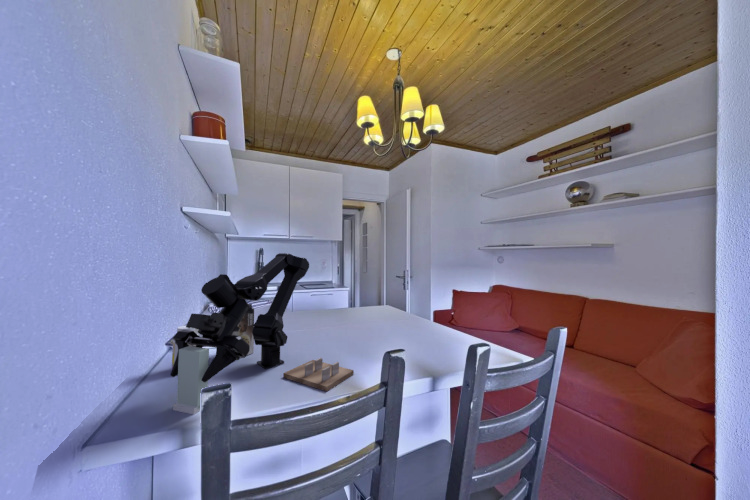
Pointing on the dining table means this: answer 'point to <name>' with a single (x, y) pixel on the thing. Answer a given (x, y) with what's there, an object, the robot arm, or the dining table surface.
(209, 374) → the robot arm
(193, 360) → the pale green pillar
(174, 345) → the supplement bottle
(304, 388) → the dining table surface
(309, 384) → the hinge base
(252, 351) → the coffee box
